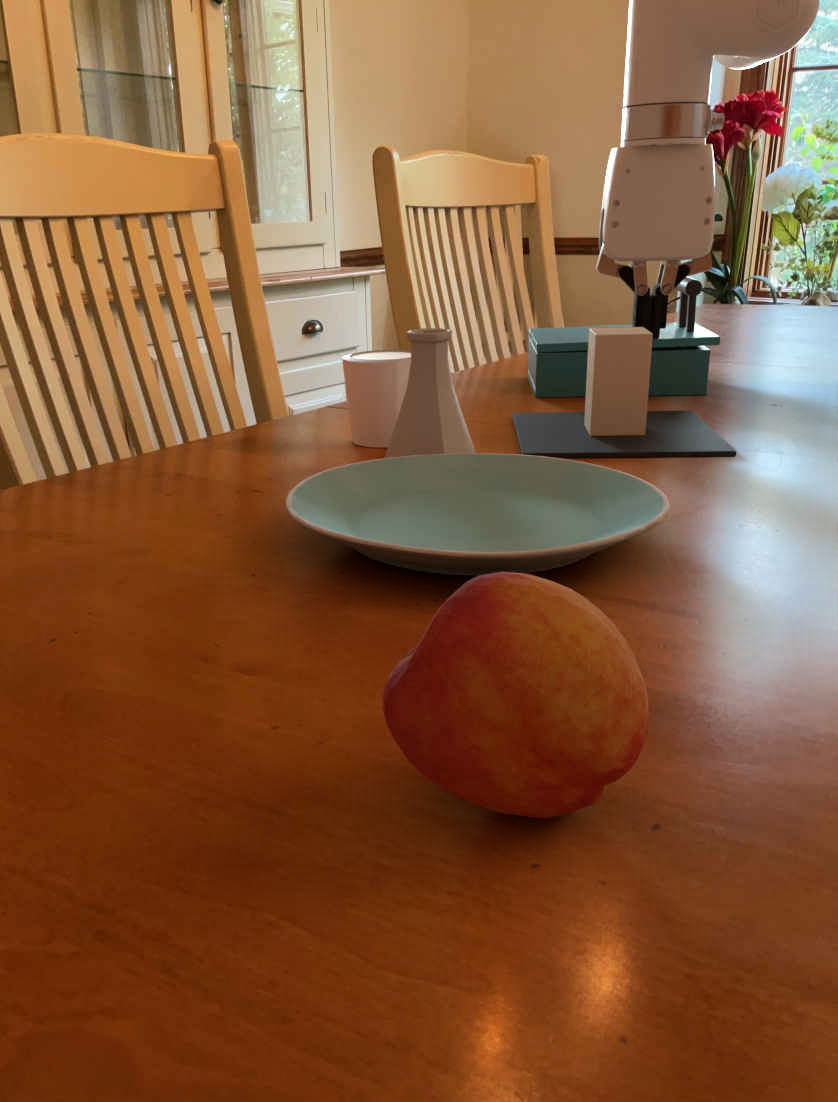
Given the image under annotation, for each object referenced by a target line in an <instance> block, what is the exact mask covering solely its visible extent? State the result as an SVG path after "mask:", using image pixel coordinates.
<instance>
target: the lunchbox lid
mask: <svg viewBox="0 0 838 1102" xmlns="http://www.w3.org/2000/svg"><path fill="white" fill-rule="evenodd" d="M675 289H676V290H677V291H678V292H679V302H678V303H679V304H678V321H676V322H674V321H673V322H666V327H665V328H663V329H660V335H659V338H652V348H659V347H684V346H705V347H708V346H720V345H721V336H720V335H719V334H717V333H715V332H713V331H711V330H709V329H707V328H705V327H703V326H702V325H700V324H698V323H696V310H697V298H698V297H697V296H699V295H700V294H701V292H702V290H703V284H702V281H700V280H699V279H695V278H694V277H691V276H687V277H686V278H685V279H684V280H683V281H682V282H681V283H680V284H678V285H677V286H676V287H675ZM618 327H632V323H631V324H630V323H629V324H609V325H588V326H587V325H586V326H585V325H584V326H583V325H582V326H564V327H562V326H561V327H559V326H558V327H539V328H537V327H535V328H529V329H528V338H529V337H530V339H531V341H532V344H533V346H534V348H535V350H536V352H537V353H538V352H563V351H587V350H588V341H589V328H618Z"/></svg>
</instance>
